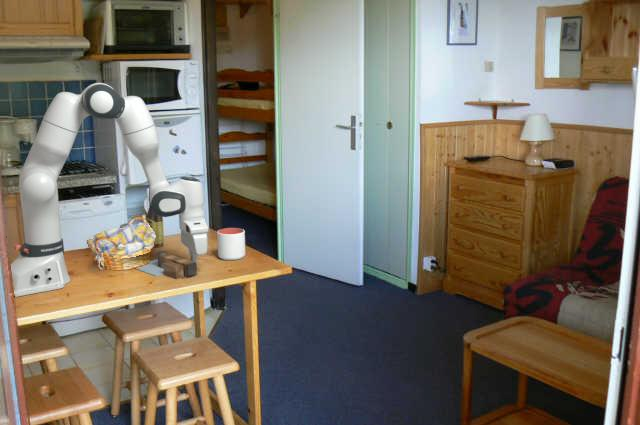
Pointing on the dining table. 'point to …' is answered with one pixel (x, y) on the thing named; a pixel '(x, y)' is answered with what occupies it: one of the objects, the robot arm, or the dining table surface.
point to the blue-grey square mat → (152, 268)
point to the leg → (177, 262)
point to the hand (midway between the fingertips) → (194, 261)
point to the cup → (231, 243)
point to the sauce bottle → (156, 226)
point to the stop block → (174, 270)
